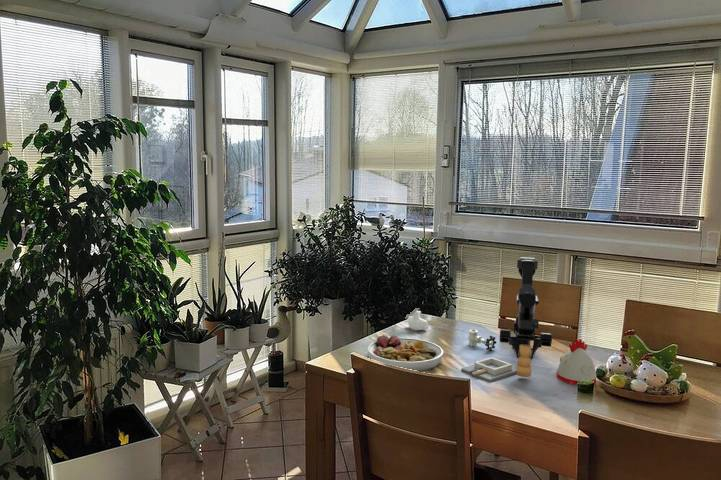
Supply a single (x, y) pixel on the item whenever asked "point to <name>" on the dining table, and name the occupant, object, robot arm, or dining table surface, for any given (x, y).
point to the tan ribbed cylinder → (524, 361)
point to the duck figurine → (417, 322)
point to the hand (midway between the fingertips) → (524, 358)
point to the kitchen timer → (576, 364)
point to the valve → (480, 340)
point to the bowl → (406, 352)
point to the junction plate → (491, 369)
